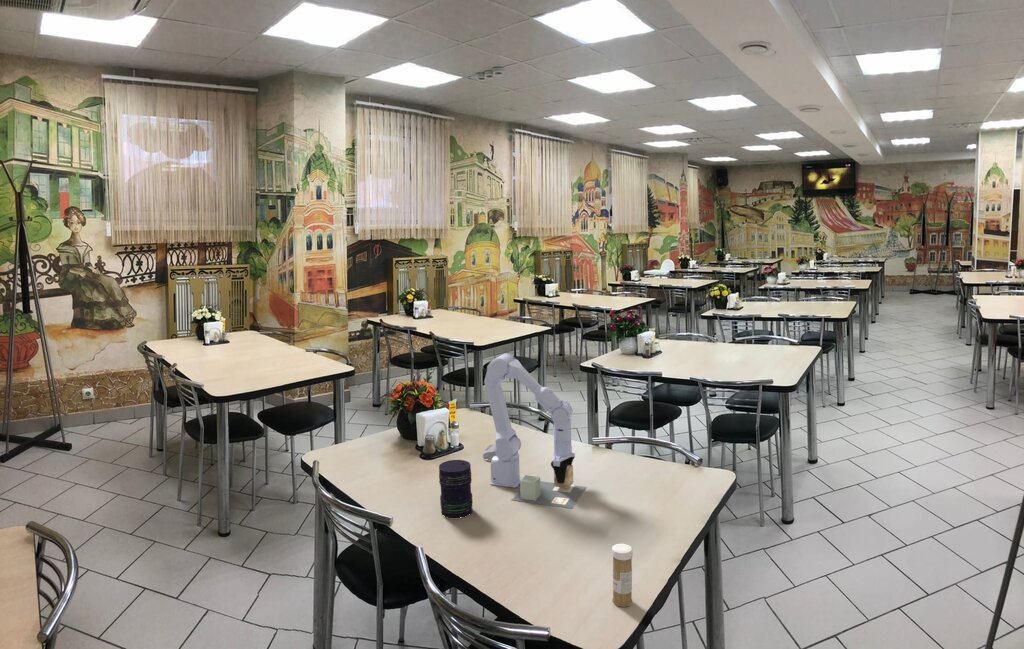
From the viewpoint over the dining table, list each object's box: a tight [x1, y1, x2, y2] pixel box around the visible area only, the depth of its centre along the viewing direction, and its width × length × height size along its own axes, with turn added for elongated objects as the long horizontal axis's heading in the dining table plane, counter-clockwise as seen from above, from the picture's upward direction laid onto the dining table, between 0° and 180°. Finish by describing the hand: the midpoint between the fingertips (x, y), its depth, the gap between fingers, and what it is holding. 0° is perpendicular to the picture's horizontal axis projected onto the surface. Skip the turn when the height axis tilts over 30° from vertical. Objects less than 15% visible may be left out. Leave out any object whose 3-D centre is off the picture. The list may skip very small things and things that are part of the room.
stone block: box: [482, 443, 497, 460], centre depth 244 cm, size 12×5×10 cm
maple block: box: [553, 464, 574, 488], centre depth 212 cm, size 5×5×6 cm
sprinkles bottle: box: [611, 543, 633, 608], centre depth 146 cm, size 5×5×14 cm
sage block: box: [519, 475, 541, 501], centre depth 206 cm, size 5×5×6 cm
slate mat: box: [511, 480, 587, 509], centre depth 208 cm, size 20×17×1 cm
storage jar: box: [438, 459, 474, 519], centre depth 196 cm, size 10×10×15 cm
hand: (563, 479), depth 212 cm, fingers closed on maple block, 5 cm apart
